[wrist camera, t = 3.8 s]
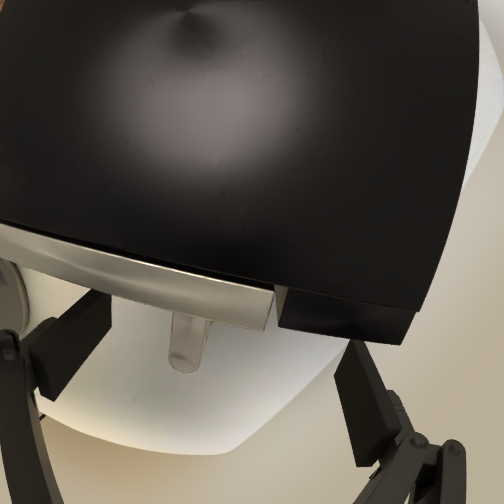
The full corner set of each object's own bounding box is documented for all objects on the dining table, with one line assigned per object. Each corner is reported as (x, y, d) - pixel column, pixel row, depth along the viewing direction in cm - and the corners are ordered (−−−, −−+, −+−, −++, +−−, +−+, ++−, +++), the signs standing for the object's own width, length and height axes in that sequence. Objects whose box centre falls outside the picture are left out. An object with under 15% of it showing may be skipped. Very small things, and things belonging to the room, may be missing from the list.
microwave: (319, 240, 28) (394, 365, 10) (112, 196, 27) (-34, 255, 10) (363, 52, 22) (472, -42, 5) (152, 17, 21) (53, -83, 4)
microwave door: (250, 276, 29) (235, 426, 12) (107, 243, 28) (-17, 333, 11) (267, 204, 27) (275, 291, 10) (114, 175, 26) (-35, 212, 9)
